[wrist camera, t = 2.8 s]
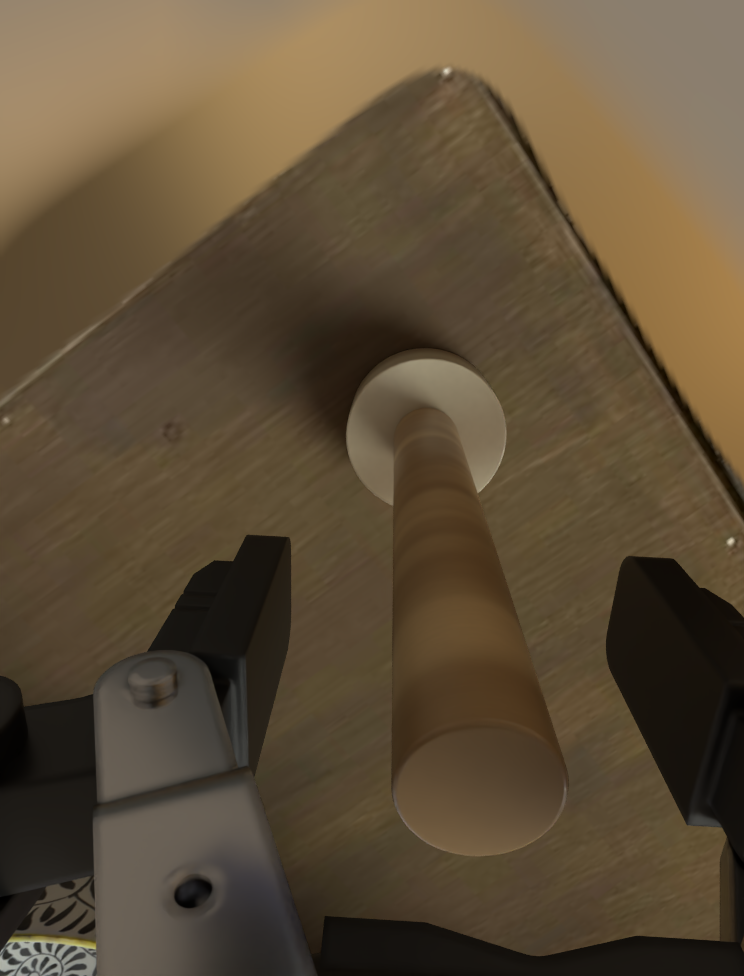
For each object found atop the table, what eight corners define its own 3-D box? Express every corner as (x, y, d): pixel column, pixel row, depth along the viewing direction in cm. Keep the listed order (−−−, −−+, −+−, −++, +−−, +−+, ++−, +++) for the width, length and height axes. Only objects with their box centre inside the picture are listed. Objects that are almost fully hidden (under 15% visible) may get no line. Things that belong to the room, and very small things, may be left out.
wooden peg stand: (323, 390, 22) (173, 710, 7) (459, 320, 21) (615, 520, 6) (390, 513, 24) (383, 989, 9) (520, 453, 23) (765, 871, 8)
